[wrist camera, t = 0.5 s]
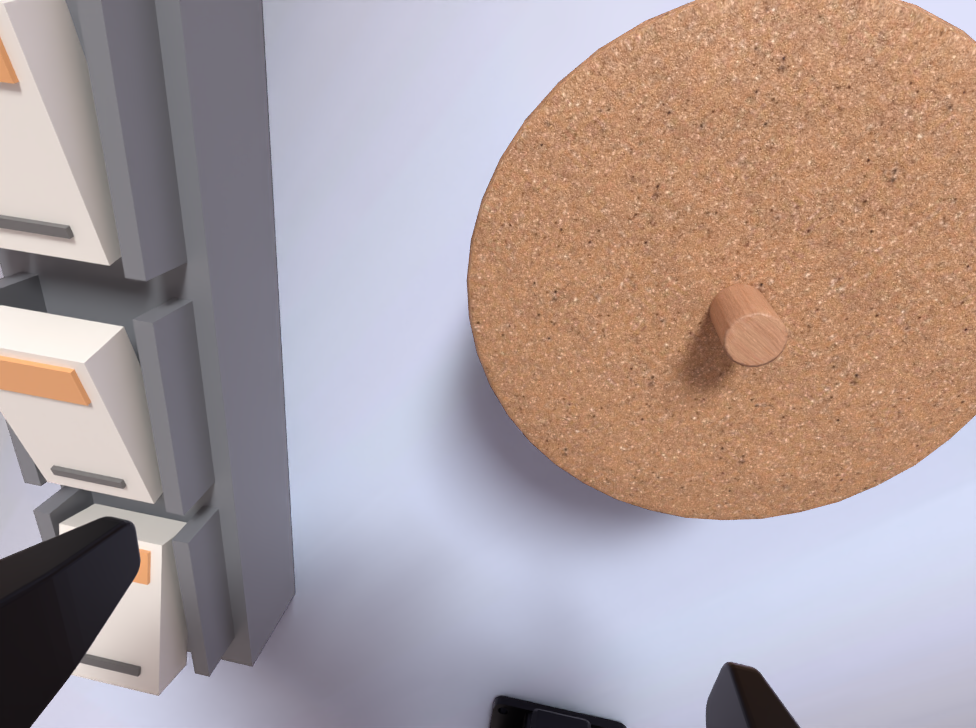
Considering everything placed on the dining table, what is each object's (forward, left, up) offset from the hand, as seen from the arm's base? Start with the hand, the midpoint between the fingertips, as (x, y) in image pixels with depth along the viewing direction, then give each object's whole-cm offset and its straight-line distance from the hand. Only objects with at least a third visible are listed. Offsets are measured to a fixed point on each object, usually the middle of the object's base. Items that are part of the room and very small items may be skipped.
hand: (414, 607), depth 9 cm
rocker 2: (-3, +12, -7) cm, 15 cm away
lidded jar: (+4, -5, -13) cm, 15 cm away
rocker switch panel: (-5, +12, -13) cm, 19 cm away
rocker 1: (-11, +12, -7) cm, 18 cm away
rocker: (+5, +12, -7) cm, 15 cm away
